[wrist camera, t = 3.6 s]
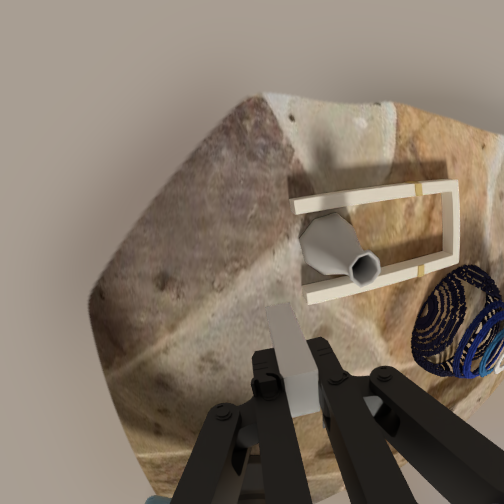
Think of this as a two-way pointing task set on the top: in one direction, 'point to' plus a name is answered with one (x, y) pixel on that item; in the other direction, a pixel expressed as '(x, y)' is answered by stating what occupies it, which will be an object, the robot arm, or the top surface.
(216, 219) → the top surface
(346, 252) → the flask
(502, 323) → the rock
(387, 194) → the u-shaped frame
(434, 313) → the decorative bowl
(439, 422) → the robot arm
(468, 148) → the top surface
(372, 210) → the top surface
